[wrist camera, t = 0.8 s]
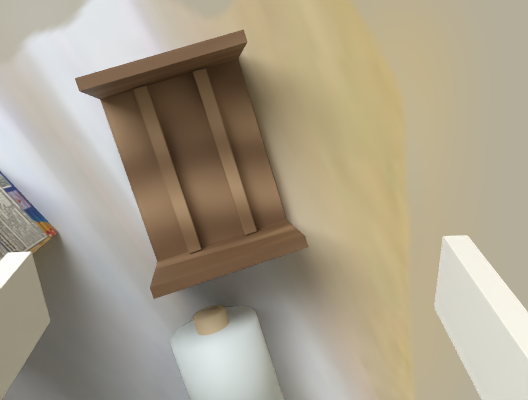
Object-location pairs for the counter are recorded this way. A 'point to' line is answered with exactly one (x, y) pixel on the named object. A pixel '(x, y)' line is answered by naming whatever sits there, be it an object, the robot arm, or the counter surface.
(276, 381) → the roll
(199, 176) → the tray
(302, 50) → the counter surface
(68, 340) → the counter surface
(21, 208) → the beverage box
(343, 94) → the counter surface
